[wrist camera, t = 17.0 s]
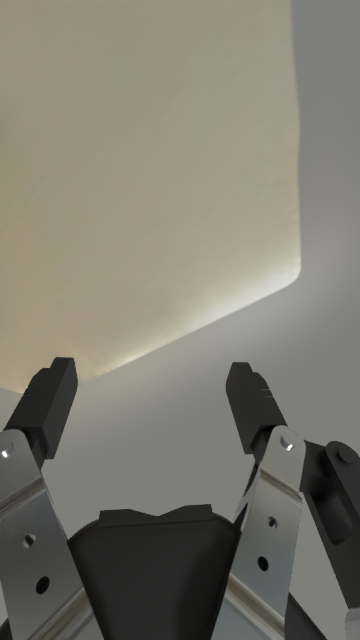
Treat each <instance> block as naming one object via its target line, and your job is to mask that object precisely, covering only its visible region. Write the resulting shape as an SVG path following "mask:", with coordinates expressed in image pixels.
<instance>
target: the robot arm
mask: <svg viewBox="0 0 360 640" xmlns="http://www.w3.org/2000/svg"><path fill="white" fill-rule="evenodd" d="M77 385H78V379H77V373H76V368H75V362H74V359H73V358H66V357H56V358H55V359H54V361H53V363H52V365H51V367H50V368H42V369H41V370H40V371H39V372H38V373H37V374H36V375H34V376H33V378H32V380H31V381H30V383H29V385H28V388H27V389H26V390H25V392H24V394H23V396H22V398H21V400H20V401H19V403H18V405H17V407H16V409H15V410H14V412H13V414H12V416H11V418H10V419H9V421H8V423H7V425H6V427H5V428H4V430H3V431H2V432H0V581H1V585H2V590H3V595H4V600H5V605H6V609H7V614H8V618H7V619H6V620H5V622H4V623H3V624H2V626H1V627H0V640H327V639H326V637H325V636H324V635H323V634H322V632H321V631H320V630H319V629H318V627H317V626H316V625H315V624H314V622H313V621H312V620H311V619H310V617H309V616H308V615H307V614H306V612H305V611H304V610H303V609H302V607H301V606H300V605H299V603H298V602H297V601H296V600H295V598H294V597H293V596H292V595H291V593H290V592H289V587H290V580H291V574H292V567H293V561H294V555H295V548H296V542H297V535H298V529H299V522H300V516H301V509H302V499H301V497H299V491H300V492H303V494H304V496H305V499H306V501H307V504H308V506H309V509H310V512H311V514H312V517H313V519H314V522H315V524H316V527H317V529H318V532H319V535H320V537H321V540H322V542H323V545H324V547H325V550H326V552H327V555H328V558H329V560H330V563H331V565H332V568H333V570H334V573H335V575H336V578H337V580H338V583H339V586H340V588H341V591H342V593H343V596H344V598H345V601H346V604H347V606H348V608H349V610H348V612H347V614H346V618H345V629H346V635H347V640H360V457H359V456H358V454H357V453H356V452H355V451H354V450H352V449H351V448H350V447H349V446H347V445H346V444H344V443H341V442H338V441H332V442H329V443H328V444H327V445H326V446H321V445H318V444H315V443H311V442H308V441H306V440H303V438H302V437H301V436H300V435H299V434H298V433H297V432H296V431H295V430H293V429H292V428H290V427H288V426H287V424H286V422H285V420H284V417H283V415H282V413H281V411H280V409H279V407H278V405H277V403H276V401H275V399H274V398H273V395H272V393H271V391H270V390H269V387H268V385H267V383H266V381H265V380H264V379H263V377H262V376H261V375H260V374H259V373H256V372H253V371H252V369H251V367H250V365H249V363H248V362H233V363H232V366H231V369H230V372H229V375H228V378H227V381H226V393H227V396H228V399H229V403H230V406H231V410H232V413H233V416H234V419H235V422H236V426H237V429H238V433H239V436H240V439H241V443H242V446H243V449H244V453H245V454H253V455H254V458H255V461H254V464H253V466H252V470H251V472H250V475H249V478H248V481H247V484H246V486H245V489H244V492H243V495H242V498H241V500H240V503H239V505H238V507H237V509H236V512H235V514H234V517H233V519H232V522H230V521H229V520H228V519H226V518H224V517H223V516H221V515H218V514H216V513H213V512H212V508H211V504H205V505H188V506H183V507H181V508H178V509H175V510H173V511H170V512H168V513H166V514H163V515H160V516H153V515H149V514H146V513H142V512H138V511H134V510H130V509H123V510H122V509H121V510H104V511H100V515H99V519H98V520H95V521H93V522H91V523H89V524H87V525H86V526H84V527H83V528H81V529H80V530H79V531H77V532H76V533H75V534H74V535H73V536H72V537H71V538H70V539H69V540H68V538H67V535H66V533H65V531H64V528H63V525H62V523H61V521H60V518H59V516H58V513H57V511H56V508H55V506H54V503H53V501H52V498H51V496H50V493H49V491H48V488H47V485H46V483H45V481H44V478H43V476H42V473H41V468H42V466H43V463H44V460H45V459H54V456H55V453H56V451H57V448H58V445H59V441H60V439H61V435H62V433H63V430H64V427H65V424H66V421H67V418H68V415H69V412H70V408H71V406H72V403H73V400H74V397H75V394H76V391H77Z"/></svg>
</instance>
